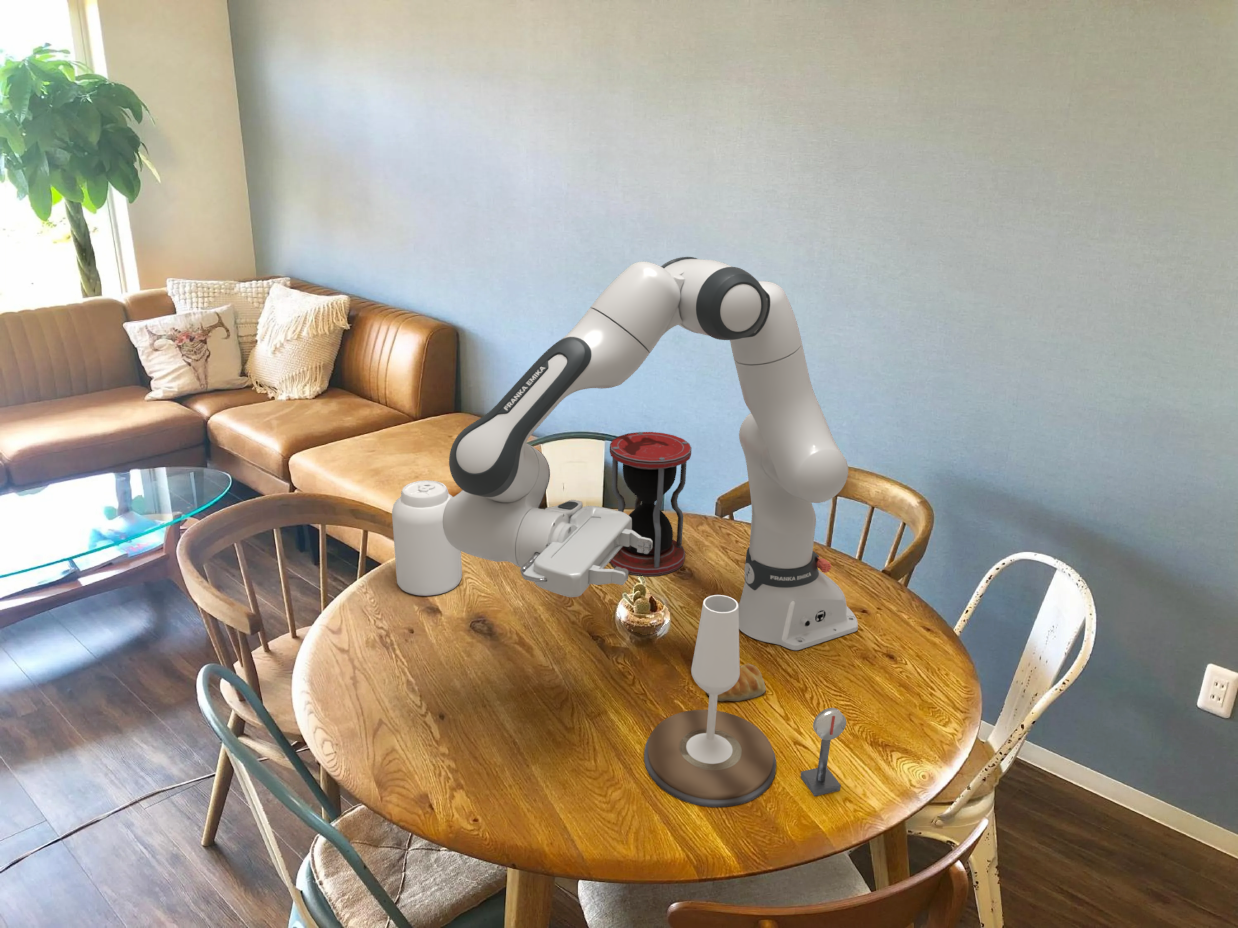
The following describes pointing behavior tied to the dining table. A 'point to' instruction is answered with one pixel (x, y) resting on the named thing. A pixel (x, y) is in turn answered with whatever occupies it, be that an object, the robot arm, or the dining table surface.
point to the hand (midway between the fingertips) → (639, 561)
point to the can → (424, 541)
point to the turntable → (710, 782)
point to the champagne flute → (715, 671)
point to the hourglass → (650, 498)
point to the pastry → (745, 685)
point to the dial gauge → (824, 752)
